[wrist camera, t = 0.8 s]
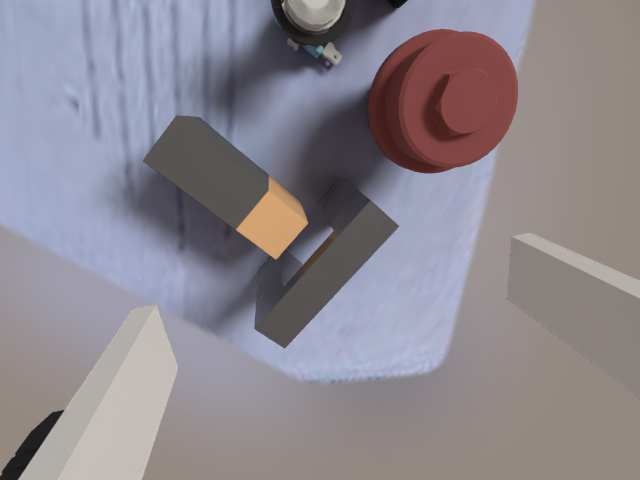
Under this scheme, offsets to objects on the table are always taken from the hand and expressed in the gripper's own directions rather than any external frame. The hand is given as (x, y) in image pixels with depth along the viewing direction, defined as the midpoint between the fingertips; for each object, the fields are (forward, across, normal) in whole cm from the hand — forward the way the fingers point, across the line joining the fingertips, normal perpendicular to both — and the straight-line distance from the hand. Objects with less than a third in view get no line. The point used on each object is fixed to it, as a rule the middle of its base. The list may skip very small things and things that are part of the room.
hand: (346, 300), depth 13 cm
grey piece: (+23, +1, -5) cm, 24 cm away
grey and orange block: (+23, -5, +1) cm, 24 cm away
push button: (+23, +3, +12) cm, 27 cm away
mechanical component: (+23, +11, +6) cm, 26 cm away
